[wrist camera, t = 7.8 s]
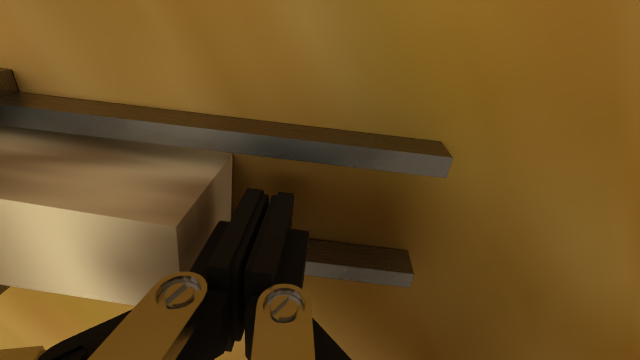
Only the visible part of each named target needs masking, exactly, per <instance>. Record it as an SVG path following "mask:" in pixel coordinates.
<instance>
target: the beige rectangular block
mask: <svg viewBox="0 0 640 360" xmlns="http://www.w3.org/2000/svg"><path fill="white" fill-rule="evenodd" d="M231 198H232V154H231V153H225V152H219V151H213V150H204V149H196V148H187V147H179V146H170V145H162V144H154V143H145V142H137V141H128V140H120V139H111V138H103V137H94V136H86V135H77V134H69V133H61V132H52V131H44V130H35V129H27V128H18V127H10V126H1V125H0V285H7V286H13V287H19V288H26V289H32V290H39V291H45V292H52V293H58V294H64V295H71V296H77V297H84V298H90V299H97V300H103V301H109V302H116V303H122V304H129V305H135V306H136V305H137V304H138V303H139V302H140V301H141V300H142V298H143V297H144V296H145V295H146V294H147V293H148V292H149V291H150V290H151V288H152V287H153V286H154V285H155V284H156V283H158V282H159V281H160V280H161V279H163V278H165V277H166V276H168V275H171V274H174V273H177V272H189V271H190V269H191V268H192V266H193V264H194V262H195V261H196V259H197V257H198V256H199V254H200V252H201V251H202V249H203V247H204V245H205V244H206V242H207V240H208V239H209V237H210V235H211V234H212V232H213V230H214V228H215V227H216V225H217V223H218V222H219V221H229V222H230V220H231Z"/></svg>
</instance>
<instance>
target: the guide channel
mask: <svg viewBox="0 0 640 360" xmlns="http://www.w3.org/2000/svg"><path fill="white" fill-rule="evenodd" d="M0 125H1V126H10V127H18V128H27V129H35V130H44V131H52V132H61V133H69V134H77V135H86V136H94V137H103V138H111V139H120V140H128V141H137V142H145V143H154V144H162V145H170V146H179V147H187V148H196V149H204V150H213V151H221V152H230V153H238V154H246V155H255V156H263V157H272V158H280V159H289V160H297V161H306V162H314V163H322V164H331V165H339V166H348V167H356V168H365V169H373V170H382V171H390V172H399V173H407V174H415V175H424V176H432V177H441V178H446V177H447V174H448V171H449V168H450V165H451V162H452V159H453V157H452V156H451V154H450V153H449V152H448V151H447V149H446V148H445V147H444V145H443V144H442V143H441V142H438V141H429V140H421V139H412V138H404V137H395V136H387V135H378V134H370V133H361V132H353V131H344V130H336V129H327V128H319V127H310V126H302V125H293V124H285V123H276V122H268V121H259V120H251V119H242V118H234V117H226V116H217V115H209V114H200V113H192V112H183V111H175V110H166V109H158V108H149V107H141V106H132V105H124V104H115V103H107V102H98V101H90V100H81V99H73V98H64V97H56V96H47V95H39V94H30V93H22V92H17V93H13V94H9V95H5V96H1V97H0ZM304 275H308V276H317V277H325V278H333V279H342V280H350V281H358V282H367V283H375V284H383V285H392V286H400V287H408V288H410V285H411V282H412V279H413V276H414V272H413V269H412V265H411V262H410V258H409V254H408V251H405V250H396V249H388V248H379V247H371V246H363V245H354V244H346V243H338V242H329V241H321V240H313V239H309V241H308V249H307V258H306V266H305V273H304Z"/></svg>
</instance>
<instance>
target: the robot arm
mask: <svg viewBox="0 0 640 360" xmlns="http://www.w3.org/2000/svg"><path fill="white" fill-rule="evenodd" d="M293 202H294V194H292V193H283V192H279V193H278V195H277V196H276V195H272V198H271V200H270V203H269V195H268V194H264V191H263V190H259V189H251V188H248V189H247V190H246V192H245V194H244V196H243V198H242V200H241V202H240V203H239V205H238V207H237V209H236V211H235V213H234V215H233V217H232V218H231V220H230V222H229V221H219V222H218V223H217V225H216V227H215V228H214V230H213V232H212V234H211V235H210V237H209V239H208V240H207V242H206V244H205V245H204V247H203V249H202V251H201V252H200V254H199V256H198V257H197V259H196V261H195V262H194V264H193V266H192V268H191V269H190V271H189V272H177V273H174V274H171V275H168V276H166V277H165V278H163V279H161V280H160V281H159V282H158V283H156V284H155V285H154V286H153V287H152V288H151V290H150V291H149V292H148V293H147V294H146V295H145V296H144V297H143V298H142V300H141V301H140V302H139V303H138V304H137V305H136V306H135V307H134V308H133V309H132V310H130V311H128V312H126V313H123V314H121V315H119V316H117V317H114V318H112V319H110V320H108V321H106V322H103V323H101V324H99V325H97V326H95V327H92V328H90V329H88V330H86V331H83V332H81V333H79V334H77V335H75V336H72V337H70V338H68V339H66V340H64V341H62V342H60V343H58V344H56V345H54V346H53V347H51V348H50V349H48V350H45V349H44V347H43V346H35V347H25V348H14V349H3V350H0V360H214V359H215V358H217V357H218V356H220V355H222V354H223V353H224V351H229V352H231V351H232V348H233V345H234V342H235V341H241V339H242V336H243V333H244V329H245V356H246V357H247V359H248V360H351V359H350V358H349V356H348V355H347V354H346V353H345V352H344V351H343V350H342V349H341V348H340V347H339V346H338V345H337V344H336V342H335V341H334V340H333V339H332V338H331V337H330V336H329V335H328V334H327V333H326V332H325V331H324V330H323V328H322V327H321V326H320V325H319V324H318V323H317V322H316V321H315V320H314V319H313V318H312V310H311V302H310V299H309V297H308V295H307V294H306V292H305V291H303V290H302V287H303V280H304V273H305V266H306V258H307V249H308V241H309V231H302V230H294V229H291V228H292V215H293Z"/></svg>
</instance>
